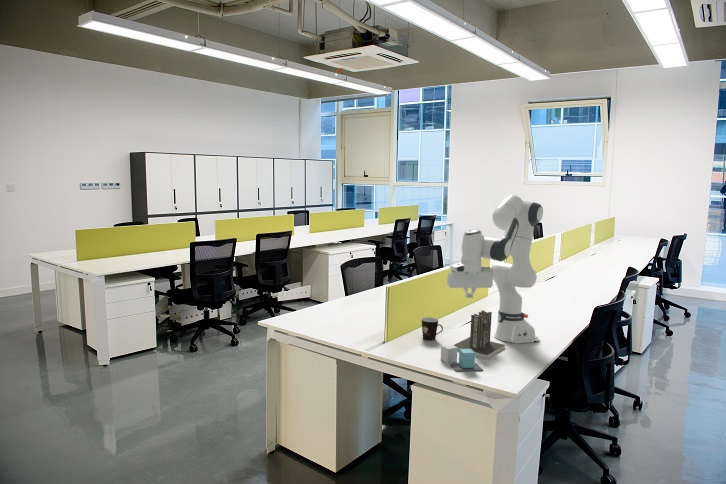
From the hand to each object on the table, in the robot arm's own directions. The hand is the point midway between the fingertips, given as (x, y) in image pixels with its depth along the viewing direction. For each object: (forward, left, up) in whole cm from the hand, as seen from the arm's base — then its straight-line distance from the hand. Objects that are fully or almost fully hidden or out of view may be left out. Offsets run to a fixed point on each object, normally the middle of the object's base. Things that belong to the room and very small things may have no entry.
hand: (469, 297), depth 220 cm
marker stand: (+3, +9, -29) cm, 31 cm away
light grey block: (+8, 0, -29) cm, 30 cm away
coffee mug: (+8, -30, -29) cm, 43 cm away
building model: (-12, -14, -30) cm, 35 cm away
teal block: (+3, +9, -28) cm, 30 cm away
